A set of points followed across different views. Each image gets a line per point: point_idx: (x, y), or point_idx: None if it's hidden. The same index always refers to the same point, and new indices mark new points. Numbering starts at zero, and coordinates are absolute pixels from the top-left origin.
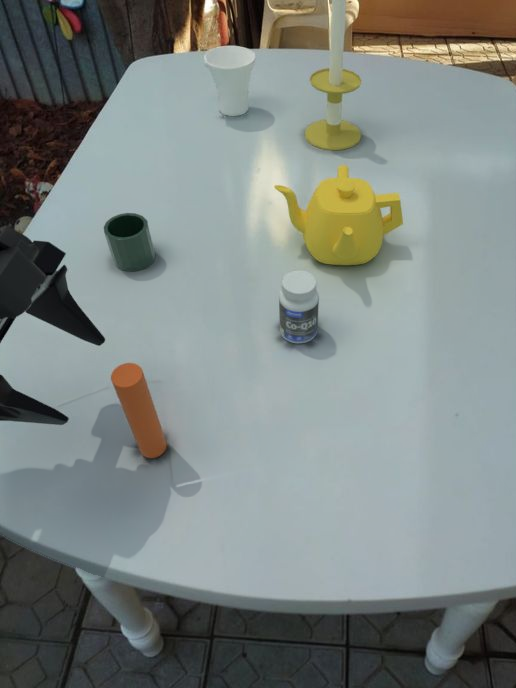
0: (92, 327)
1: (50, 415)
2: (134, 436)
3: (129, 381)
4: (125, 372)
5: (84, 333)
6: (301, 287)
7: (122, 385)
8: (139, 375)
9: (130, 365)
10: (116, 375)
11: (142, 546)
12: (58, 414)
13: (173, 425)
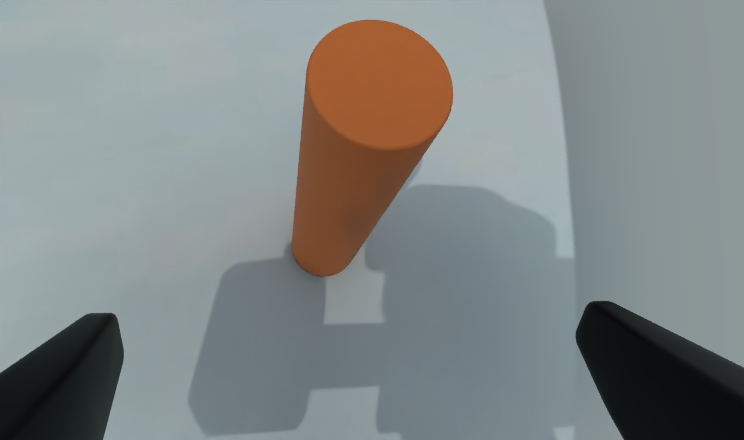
0: (26, 376)
1: (687, 343)
2: (359, 247)
3: (416, 63)
4: (370, 88)
5: (73, 432)
6: None
7: (443, 86)
8: (377, 27)
9: (325, 75)
10: (398, 121)
11: (532, 205)
12: (641, 323)
13: (257, 215)
